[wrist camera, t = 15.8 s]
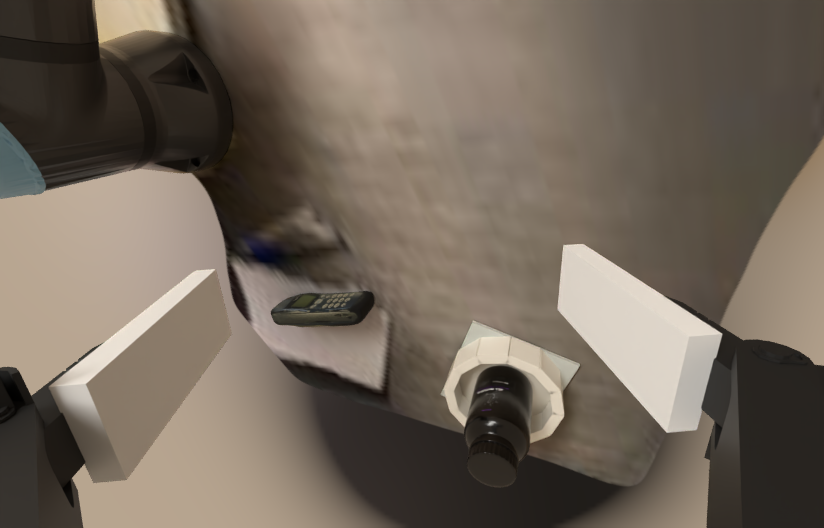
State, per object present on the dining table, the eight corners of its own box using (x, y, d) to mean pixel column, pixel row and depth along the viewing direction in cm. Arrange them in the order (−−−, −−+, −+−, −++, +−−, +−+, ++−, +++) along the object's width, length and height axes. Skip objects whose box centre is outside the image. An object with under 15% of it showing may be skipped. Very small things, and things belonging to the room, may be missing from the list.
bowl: (438, 395, 53) (432, 414, 50) (471, 320, 46) (466, 337, 43) (534, 437, 51) (533, 460, 48) (582, 365, 44) (585, 386, 41)
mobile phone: (357, 305, 45) (254, 313, 50) (364, 327, 46) (262, 332, 51) (372, 286, 49) (276, 294, 54) (379, 306, 50) (283, 312, 55)
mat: (441, 392, 53) (440, 394, 52) (473, 320, 46) (472, 322, 46) (533, 433, 51) (533, 435, 51) (579, 363, 45) (579, 366, 44)
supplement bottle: (495, 353, 46) (481, 432, 36) (544, 384, 46) (544, 474, 35) (465, 386, 49) (444, 467, 39) (511, 415, 49) (502, 505, 39)
